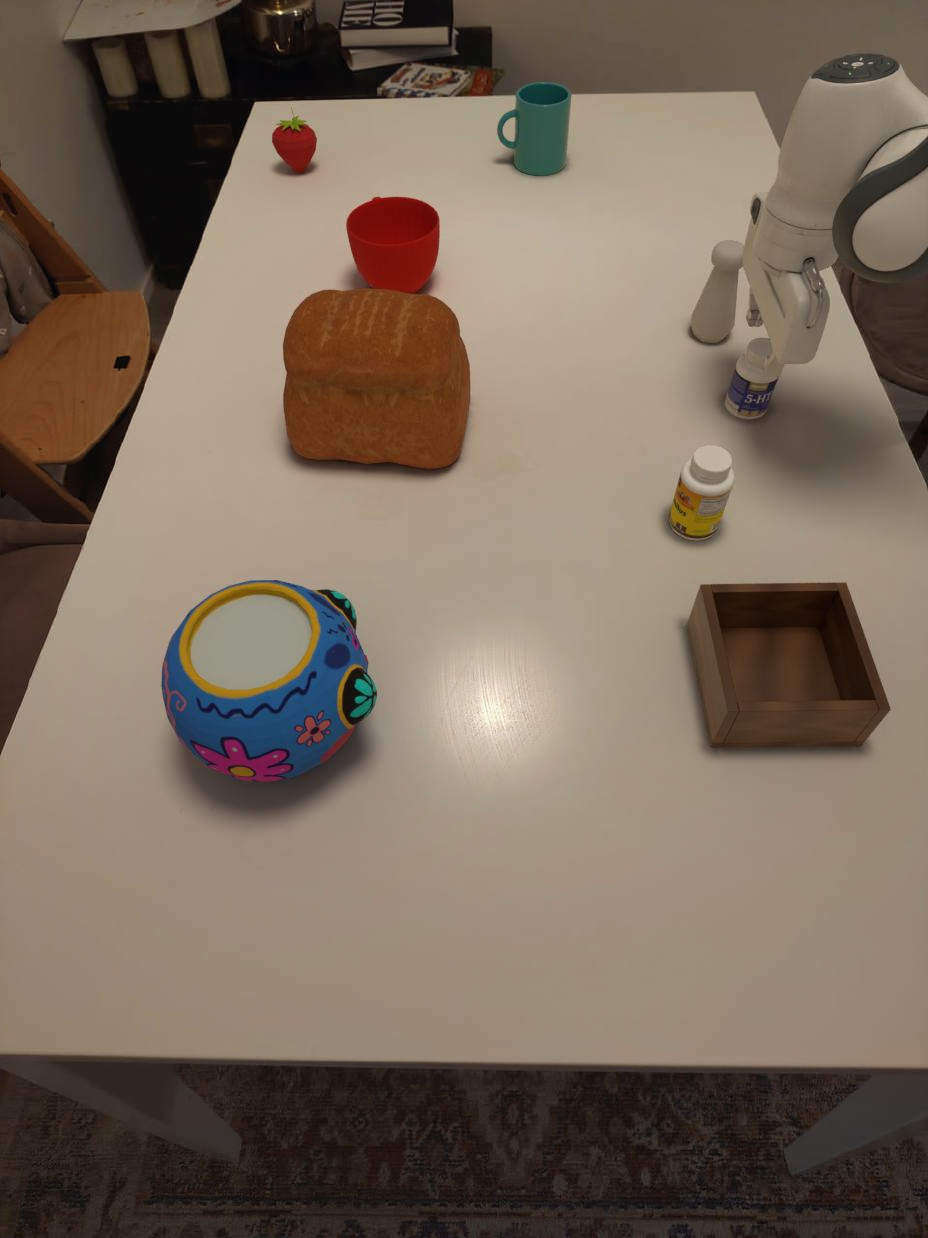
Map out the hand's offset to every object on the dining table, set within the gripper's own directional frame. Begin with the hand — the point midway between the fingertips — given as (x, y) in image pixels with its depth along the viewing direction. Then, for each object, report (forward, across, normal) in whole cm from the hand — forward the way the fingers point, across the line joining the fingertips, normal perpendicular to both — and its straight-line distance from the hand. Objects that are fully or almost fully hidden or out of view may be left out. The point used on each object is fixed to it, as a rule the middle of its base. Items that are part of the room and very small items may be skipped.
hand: (761, 347), depth 98 cm
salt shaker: (+9, +15, +1) cm, 18 cm away
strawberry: (+10, +63, +63) cm, 90 cm away
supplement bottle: (+9, -20, +10) cm, 24 cm away
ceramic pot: (+10, -45, +53) cm, 70 cm away
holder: (+9, -41, +6) cm, 42 cm away
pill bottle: (+9, 0, 0) cm, 9 cm away
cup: (+10, +64, +23) cm, 69 cm away
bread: (+10, -3, +46) cm, 47 cm away
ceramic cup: (+10, +30, +45) cm, 55 cm away
